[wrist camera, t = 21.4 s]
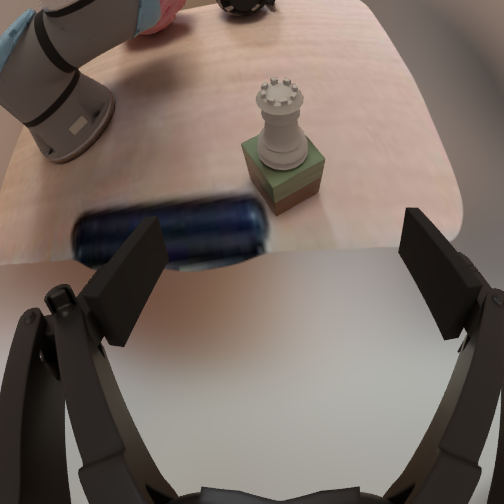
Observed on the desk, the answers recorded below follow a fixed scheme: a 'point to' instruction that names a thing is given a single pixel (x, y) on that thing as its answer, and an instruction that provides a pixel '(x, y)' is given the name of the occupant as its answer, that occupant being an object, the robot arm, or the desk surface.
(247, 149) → the block stack
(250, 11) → the grenade
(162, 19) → the decorative rock
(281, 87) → the rook chess piece
